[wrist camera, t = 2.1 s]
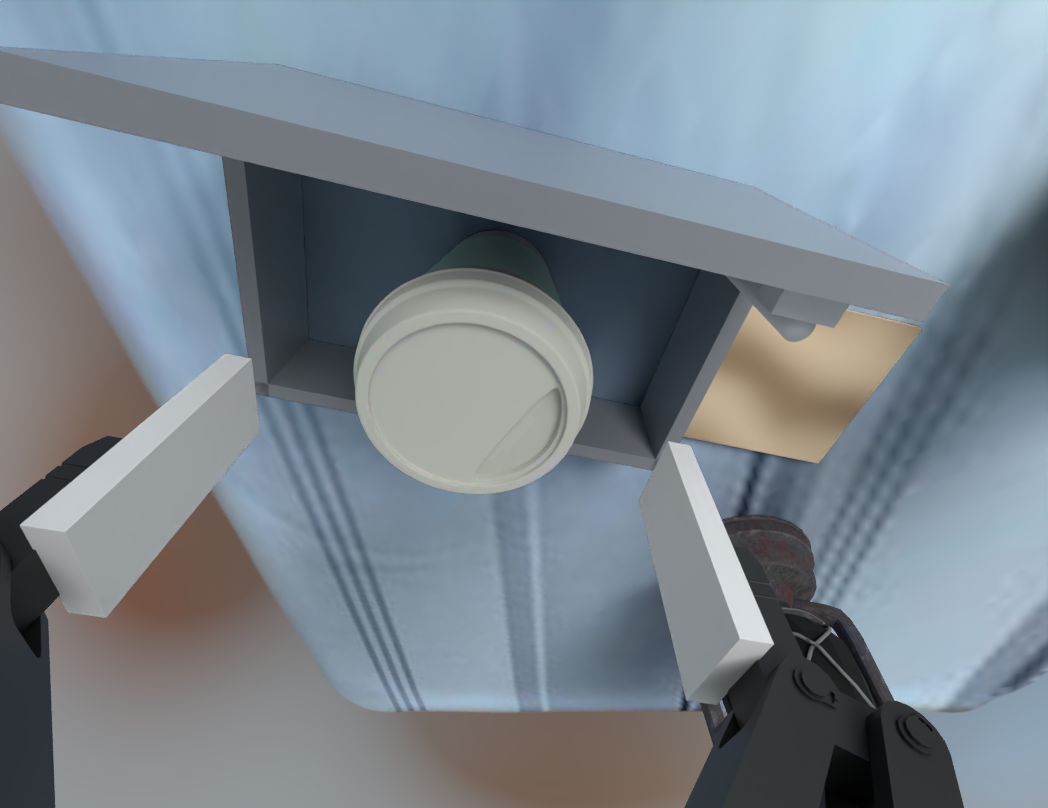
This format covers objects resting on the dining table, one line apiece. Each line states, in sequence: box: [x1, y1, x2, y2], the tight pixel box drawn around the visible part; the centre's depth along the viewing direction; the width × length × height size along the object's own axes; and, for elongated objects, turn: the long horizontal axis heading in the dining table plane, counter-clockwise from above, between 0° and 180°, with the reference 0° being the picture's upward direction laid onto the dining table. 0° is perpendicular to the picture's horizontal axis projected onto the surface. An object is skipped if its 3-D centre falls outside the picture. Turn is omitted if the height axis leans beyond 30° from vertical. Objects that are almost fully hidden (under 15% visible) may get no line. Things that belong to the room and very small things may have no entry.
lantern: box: [700, 515, 894, 745], centre depth 25 cm, size 12×11×30 cm
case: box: [0, 47, 950, 471], centre depth 20 cm, size 15×22×13 cm, turn 78°
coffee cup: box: [353, 230, 593, 494], centre depth 21 cm, size 8×9×12 cm
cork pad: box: [683, 306, 922, 464], centre depth 28 cm, size 10×10×1 cm
